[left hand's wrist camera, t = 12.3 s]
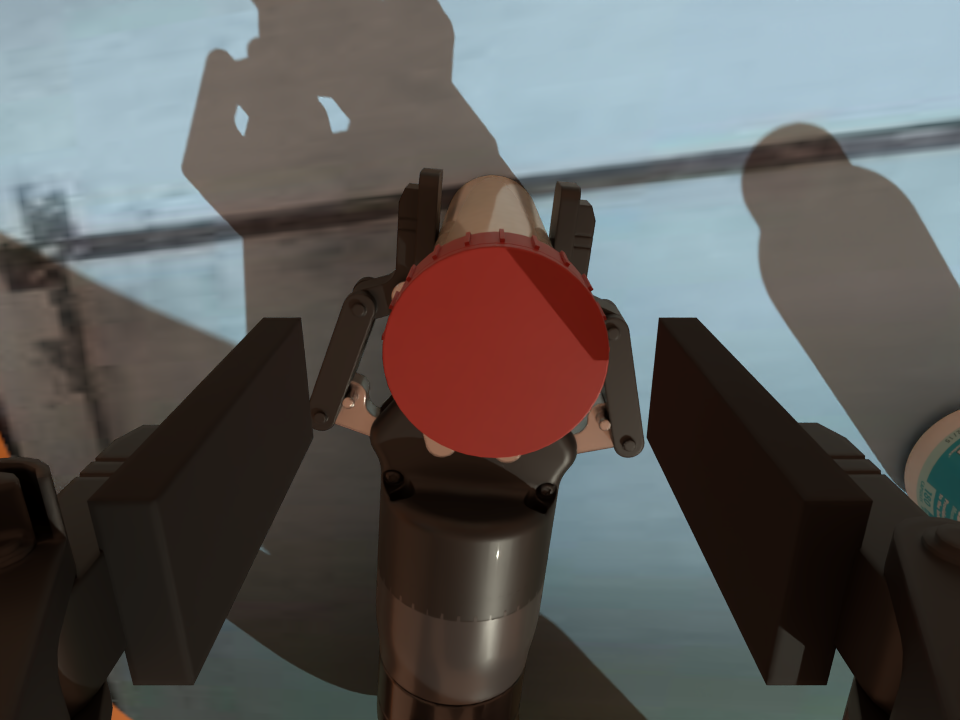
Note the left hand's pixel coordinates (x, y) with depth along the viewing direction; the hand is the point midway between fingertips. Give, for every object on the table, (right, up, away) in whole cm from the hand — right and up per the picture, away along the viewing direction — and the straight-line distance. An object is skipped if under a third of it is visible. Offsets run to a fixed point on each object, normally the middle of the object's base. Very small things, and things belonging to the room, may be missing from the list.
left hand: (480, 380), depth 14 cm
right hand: (+1, +7, +10) cm, 12 cm away
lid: (0, +1, +2) cm, 2 cm away
